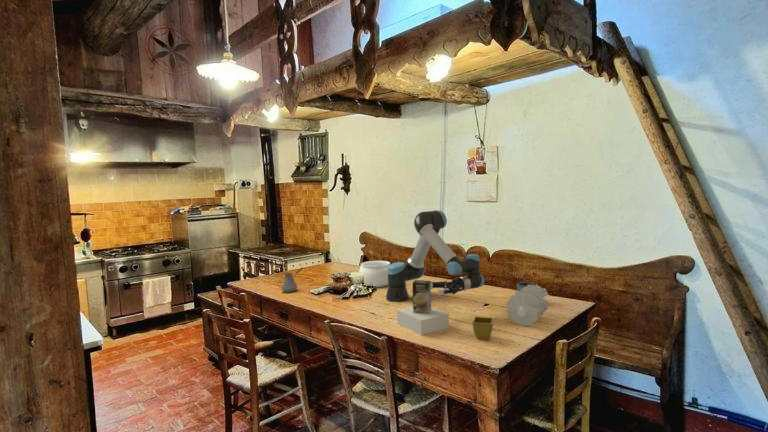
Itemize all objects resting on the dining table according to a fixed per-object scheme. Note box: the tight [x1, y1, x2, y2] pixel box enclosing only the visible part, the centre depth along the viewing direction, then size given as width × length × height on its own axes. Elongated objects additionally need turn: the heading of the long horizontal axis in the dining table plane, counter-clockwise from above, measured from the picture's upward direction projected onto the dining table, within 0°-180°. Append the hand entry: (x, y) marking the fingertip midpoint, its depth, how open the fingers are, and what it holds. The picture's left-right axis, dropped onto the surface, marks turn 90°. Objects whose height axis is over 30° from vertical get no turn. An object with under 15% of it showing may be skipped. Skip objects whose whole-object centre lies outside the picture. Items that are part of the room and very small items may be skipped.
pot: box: [358, 260, 391, 288], centre depth 308 cm, size 29×26×16 cm
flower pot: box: [472, 316, 494, 341], centre depth 193 cm, size 9×9×9 cm
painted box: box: [396, 305, 450, 336], centre depth 214 cm, size 22×18×8 cm
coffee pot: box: [281, 267, 304, 293], centre depth 301 cm, size 21×12×15 cm, turn 148°
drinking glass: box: [516, 281, 535, 292], centre depth 246 cm, size 10×10×12 cm
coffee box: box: [412, 279, 432, 313], centre depth 213 cm, size 9×6×16 cm
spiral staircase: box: [505, 283, 549, 327], centre depth 214 cm, size 18×18×25 cm
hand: (430, 290), depth 215 cm, fingers open, 13 cm apart
